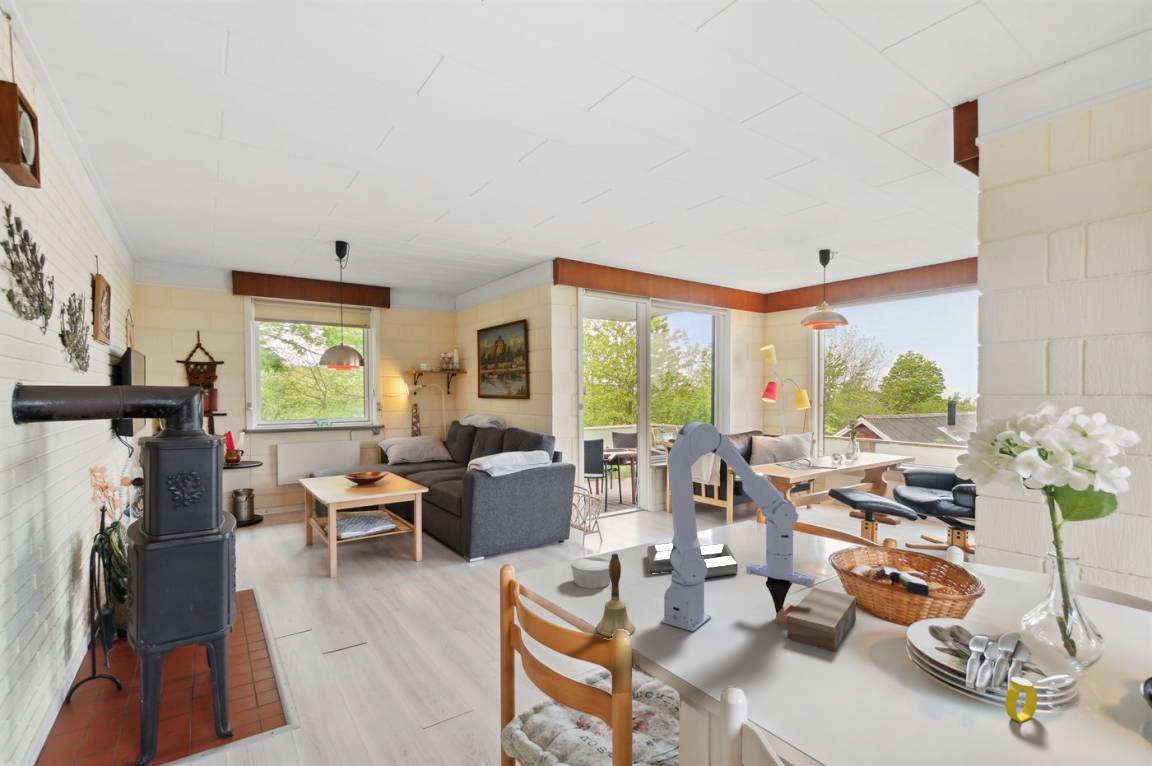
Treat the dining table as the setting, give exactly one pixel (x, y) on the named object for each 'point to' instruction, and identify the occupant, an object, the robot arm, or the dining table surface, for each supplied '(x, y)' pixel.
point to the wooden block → (821, 618)
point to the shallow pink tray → (784, 614)
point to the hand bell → (614, 605)
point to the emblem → (714, 556)
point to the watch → (1013, 696)
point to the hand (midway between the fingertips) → (779, 611)
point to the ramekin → (591, 572)
